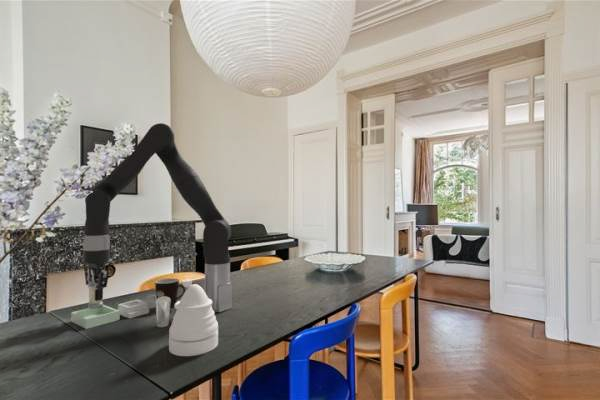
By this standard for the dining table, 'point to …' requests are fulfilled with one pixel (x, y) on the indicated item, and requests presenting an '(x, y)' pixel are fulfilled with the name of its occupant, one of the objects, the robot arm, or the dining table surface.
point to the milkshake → (163, 311)
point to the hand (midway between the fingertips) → (95, 298)
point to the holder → (133, 308)
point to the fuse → (93, 297)
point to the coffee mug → (168, 289)
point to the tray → (95, 316)
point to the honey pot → (193, 323)
